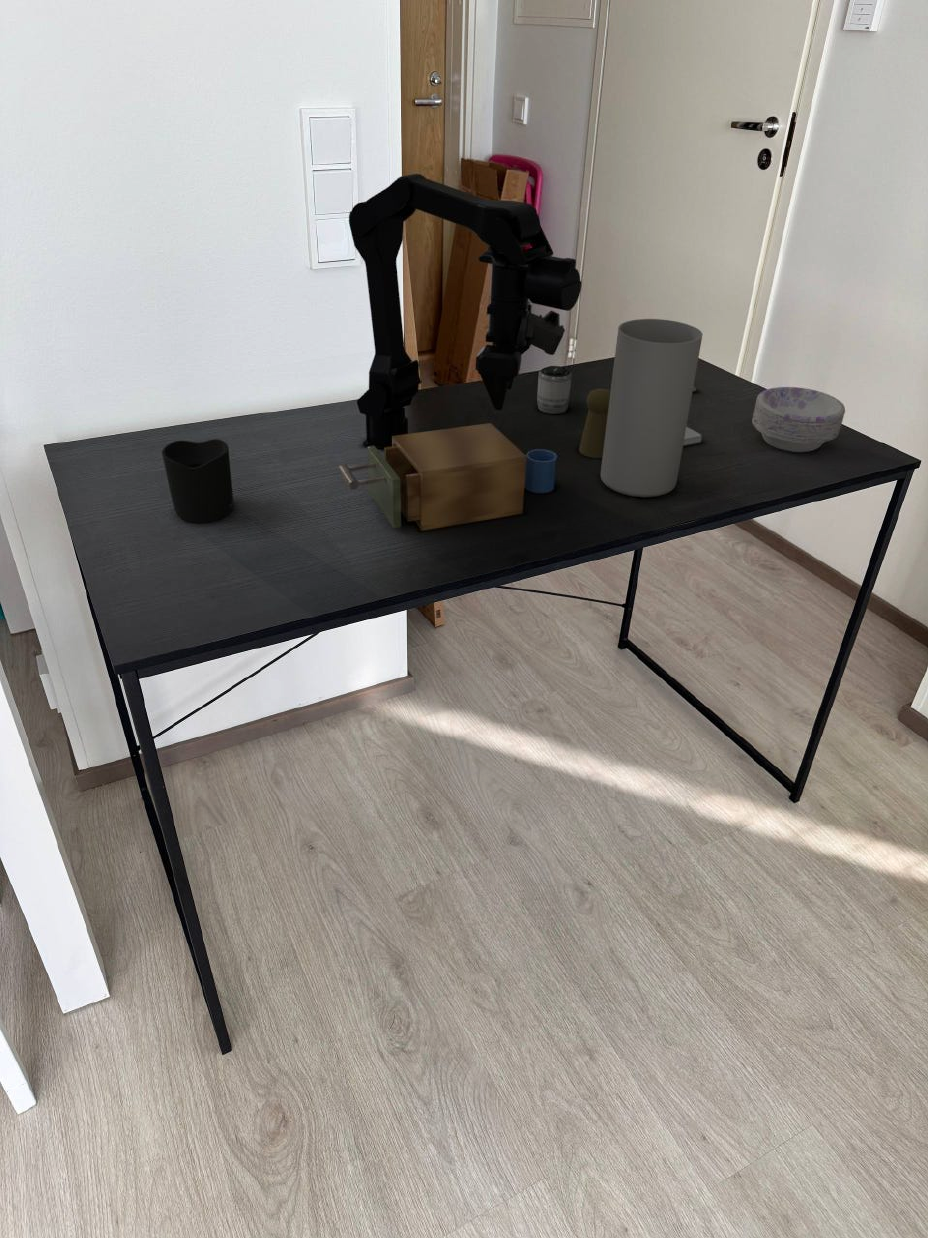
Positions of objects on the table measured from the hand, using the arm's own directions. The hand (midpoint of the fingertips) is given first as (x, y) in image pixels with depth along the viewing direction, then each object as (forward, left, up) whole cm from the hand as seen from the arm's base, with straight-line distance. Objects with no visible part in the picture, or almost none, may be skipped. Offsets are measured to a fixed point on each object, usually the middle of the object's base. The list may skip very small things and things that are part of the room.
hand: (503, 398), depth 141 cm
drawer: (-10, -16, -13) cm, 22 cm away
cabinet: (-4, -11, -14) cm, 18 cm away
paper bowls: (+46, +34, -14) cm, 59 cm away
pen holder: (-39, -27, -14) cm, 49 cm away
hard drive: (+23, +26, -14) cm, 37 cm away
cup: (+7, -1, -14) cm, 15 cm away
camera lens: (+1, +34, -14) cm, 37 cm away
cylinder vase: (+22, +7, -14) cm, 27 cm away
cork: (+13, +17, -14) cm, 26 cm away
